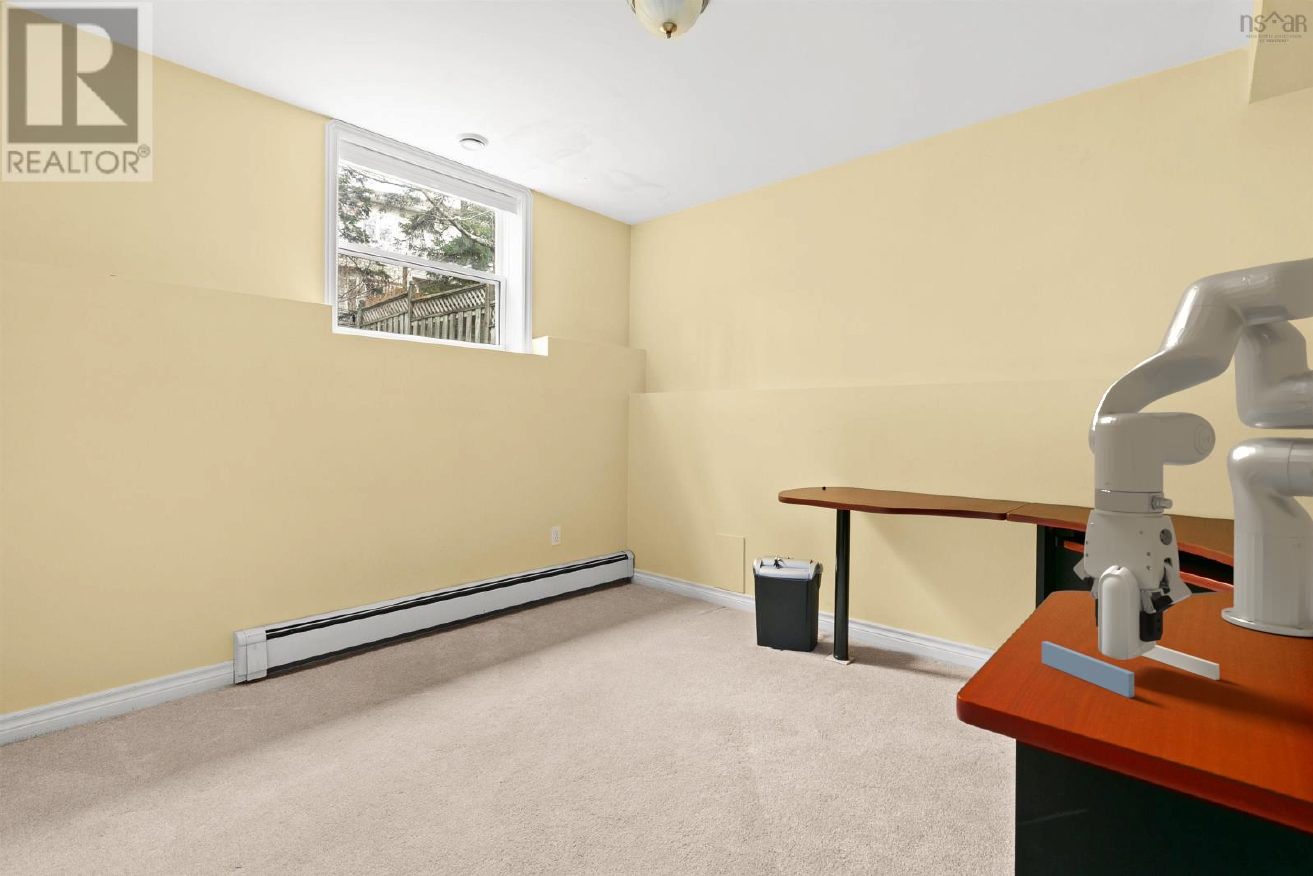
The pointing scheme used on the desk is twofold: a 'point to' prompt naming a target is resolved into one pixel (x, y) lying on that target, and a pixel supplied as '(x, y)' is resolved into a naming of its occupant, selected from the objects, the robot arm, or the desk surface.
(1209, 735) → the desk surface
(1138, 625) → the photo printer
